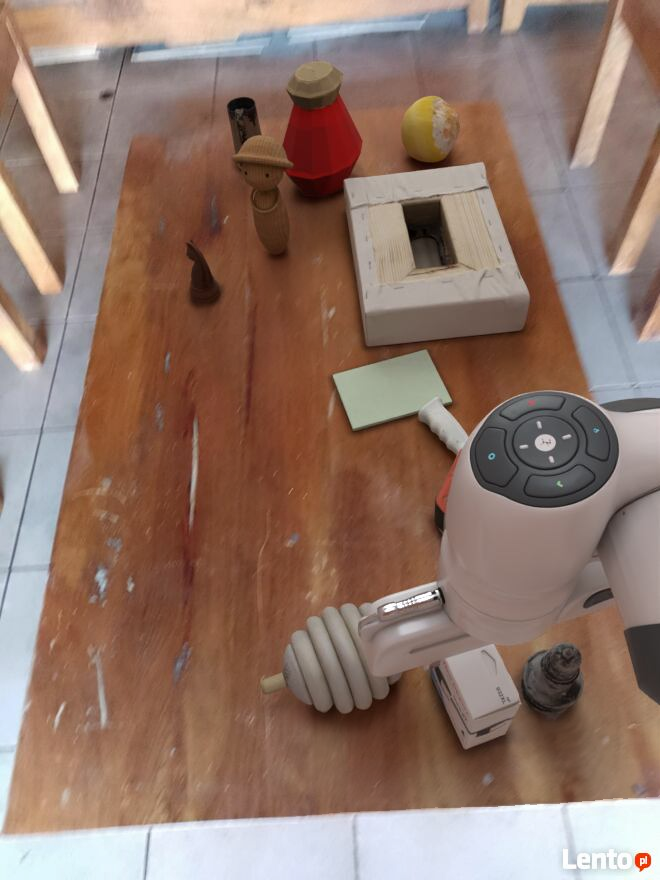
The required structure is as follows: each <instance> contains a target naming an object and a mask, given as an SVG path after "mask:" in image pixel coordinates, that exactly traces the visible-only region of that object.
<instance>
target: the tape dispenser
mask: <svg viewBox="0 0 660 880" xmlns="http://www.w3.org/2000/svg"><path fill="white" fill-rule="evenodd" d="M417 414H418V415H417V417H418V420H419V421H420V422H421V423H424V424H426V425H427V426H428V427H429V428H430V431H431V432H432V433H434V434H435V435H436V436H437V437H438V438H439V440H440V441H441V442H443V443H444V444H445V445H446V448H447V449H448V450H449V451H451V452H453V454H455V455H456V457H455V459H454V461H453V463H452V466H451V468H450V469H449V472H448V474H447V476H446V478H445V480H444V483H442V486H441V488H440V491H439V492H438V494H437V496H436V497H435V499H434V523H435V526H436V527H437V529H439V531H440V532H441V534H442V535H443V534H444V531H445V529H446V524H445V514H446V507H447V501H448V495H449V491H450V486H451V482H452V478H453V474H454V471H455V467H456V464H457V461H458V458H459V456H460V453H461V451H462V449H463V447H464V444H465V443H466V441H467V439H468V438H469V435H468V434H467V432H466V431H465V429H464V428H463V427H462V425H461V424H460V422H459V421H458V420H457V419H456V418H455V417H454V416H453V414H452V413H451V412H450V411H448V410H447V408H445V406H443V404H442V399H441V398H439V397H436V398H434V399H433V400H431V401H430V402H429V403H427V404H426V405H425V406H423V407H422V408H421V410H420V411H419V413H417Z"/></svg>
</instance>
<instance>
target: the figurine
mask: <svg viewBox="0 0 660 880" xmlns="http://www.w3.org/2000/svg"><path fill="white" fill-rule="evenodd" d="M282 145H283V144H281V142H280V141H279V140H277V139H275V137H272V136H270V135H264V134H262V135H258V136H253V137H251V138H249V139H248V140H247V141H245V143H244V144H243V145H242V147H241V149H240V151H239V152H238V154H237V155H235V154H234V155H232V156H231V157H230V158H231V161H232V162H233V163H236V164H237V163H239V164H242V169H241V174H242V177H243V180H244V181H245V183H246V184H247V186H249V187H250V188H252V189H251V191H250V194H249V203H250V206H251V208H252V217H253V223H254V227H255V231H256V234H257V236H258V239H259V240H260V242H261V244H262V246H263V247H264V249H266V251H268V252H269V253H270V254H271V255H279V254H281V253H284V251H285V249H286V248H287V246H288V244H289V241H290V233H291V226H290V225H291V224H290V218H289V212H288V208H287V205H286V201H285V198H284V196H283V194H282V193H281V189H280V188H279V185H280V184H281V182H282V180H283V178H284V174H285V172H284V169H292V168H293V163H291V162H289V161H288V159H287V155H286V152H285V150H284V148H283V146H282Z"/></svg>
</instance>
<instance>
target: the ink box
mask: <svg viewBox="0 0 660 880" xmlns="http://www.w3.org/2000/svg"><path fill="white" fill-rule="evenodd" d="M501 656H502V655H501V654H500V652H499V651H498V649H497V646H496V644H491V645H488V646H484V647H481V648H478V649H475V650H471V651H468V652H465V653H462V654H459V655H455V656H452V657H449V658H446V659H442V660H441V663H440V666H438V667H435V668H432V669H430V671H429V672H430V673H429V675H430V677H431V679H432V681H433V683H434V686H435V688H436V690H437V692H438V695H439V697H440V699H441V702H442V703H443V706H444V709H445V710H446V713H447V715H448V716H449V719H450V721H451V724H452V726H453V728H454V730H455V733H456V735H457V737H458V739H459V741H460V743H461V746H462V748H463V749H464V750H468V749H471V748H474V747H476V746H478V745H481V744H484V743H486V742H489V741H492V740H494V739H496V738H499V737H501V736H505V735H506V734H507V731H508V729H509V728H510V726H511V724H512V722H513V720H514V718H515V716H516V714H517V712H518V710H519V709H520V706H521V705H522V699H521V698H520V694H519V690H518V689H517V687H516V685H515V683H514V681H513V679H512V677H511V675H510V673H509V672H508V669H507V667H506V665H505V663H504V660H503V658H502V657H501Z"/></svg>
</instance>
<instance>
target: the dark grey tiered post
mask: <svg viewBox="0 0 660 880" xmlns="http://www.w3.org/2000/svg"><path fill="white" fill-rule="evenodd" d="M582 661H583V658H582V653H581V650H580V649H578V647H577V646H576V645H575V644H573V643H570V642H568V641H560V642H557V643H555V644H554V645H552V647H551V648H550V649H542V650H539V651H536V652H534V653H533V654H531V655H530V656H529V657H528V659H527V660H526V661H525V664H524V666H523V670H522V678H521V680H520V681H521V682H520V689H521V694H522V697H523V698H524V700H525V702H526V703H527V704H528V706H529V707H531V708H532V709H533V710H534V711H536V712H538V713H539V714H542V715H546V716H556V715H559V714H562V713H563V712H565V711H566V710H568V708H570V707H571V706H572V705H574V704H575V703H577V702H578V700H579V699H580V697H582V693H583V691H584V676H583V673H582V670H581V669H580V668H581V664H582Z"/></svg>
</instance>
